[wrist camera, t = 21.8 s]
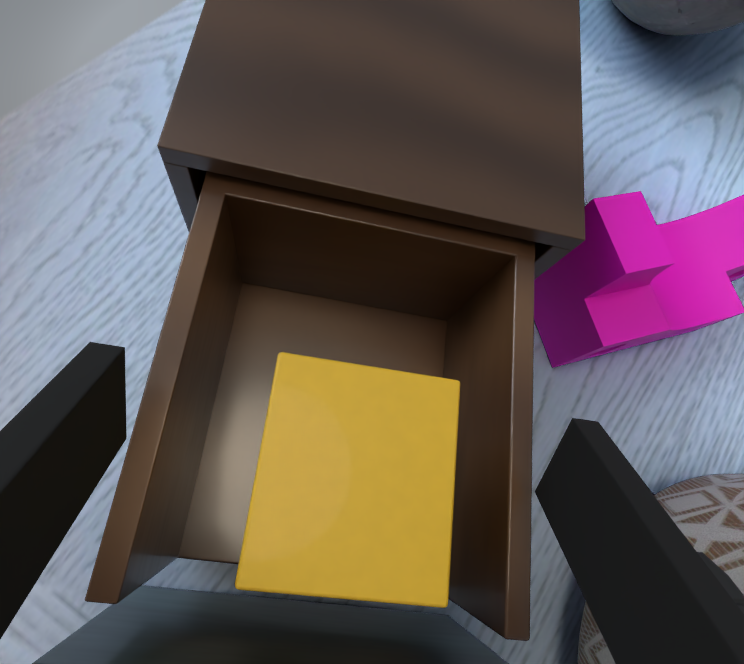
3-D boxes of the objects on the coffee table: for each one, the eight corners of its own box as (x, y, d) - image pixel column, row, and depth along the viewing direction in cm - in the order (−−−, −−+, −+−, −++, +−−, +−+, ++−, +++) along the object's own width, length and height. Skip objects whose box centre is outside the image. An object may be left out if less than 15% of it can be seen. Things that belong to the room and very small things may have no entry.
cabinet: (471, 330, 26) (586, 240, 17) (206, 281, 24) (156, 145, 15) (484, 100, 32) (577, -72, 22) (268, 45, 30) (262, -173, 20)
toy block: (552, 367, 27) (649, 327, 20) (515, 268, 28) (593, 198, 21) (748, 316, 30) (889, 267, 23) (706, 231, 32) (826, 161, 25)
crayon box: (258, 532, 20) (233, 590, 9) (279, 413, 21) (278, 350, 11) (362, 543, 20) (449, 609, 10) (376, 427, 22) (461, 379, 12)
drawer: (439, 769, 19) (558, 985, 11) (94, 752, 17) (-72, 996, 9) (467, 318, 26) (556, 242, 17) (217, 271, 24) (184, 161, 16)
